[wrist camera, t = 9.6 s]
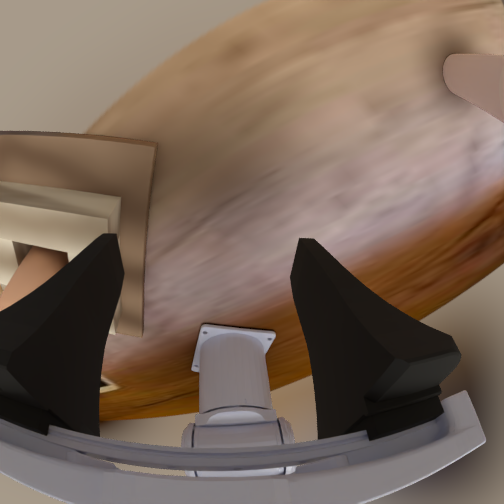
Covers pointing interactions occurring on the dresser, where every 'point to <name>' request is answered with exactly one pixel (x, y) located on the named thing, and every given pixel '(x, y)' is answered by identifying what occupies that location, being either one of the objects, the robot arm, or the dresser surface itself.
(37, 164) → the socket
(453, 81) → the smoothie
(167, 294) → the dresser surface
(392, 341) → the robot arm
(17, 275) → the peg
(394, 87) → the dresser surface
